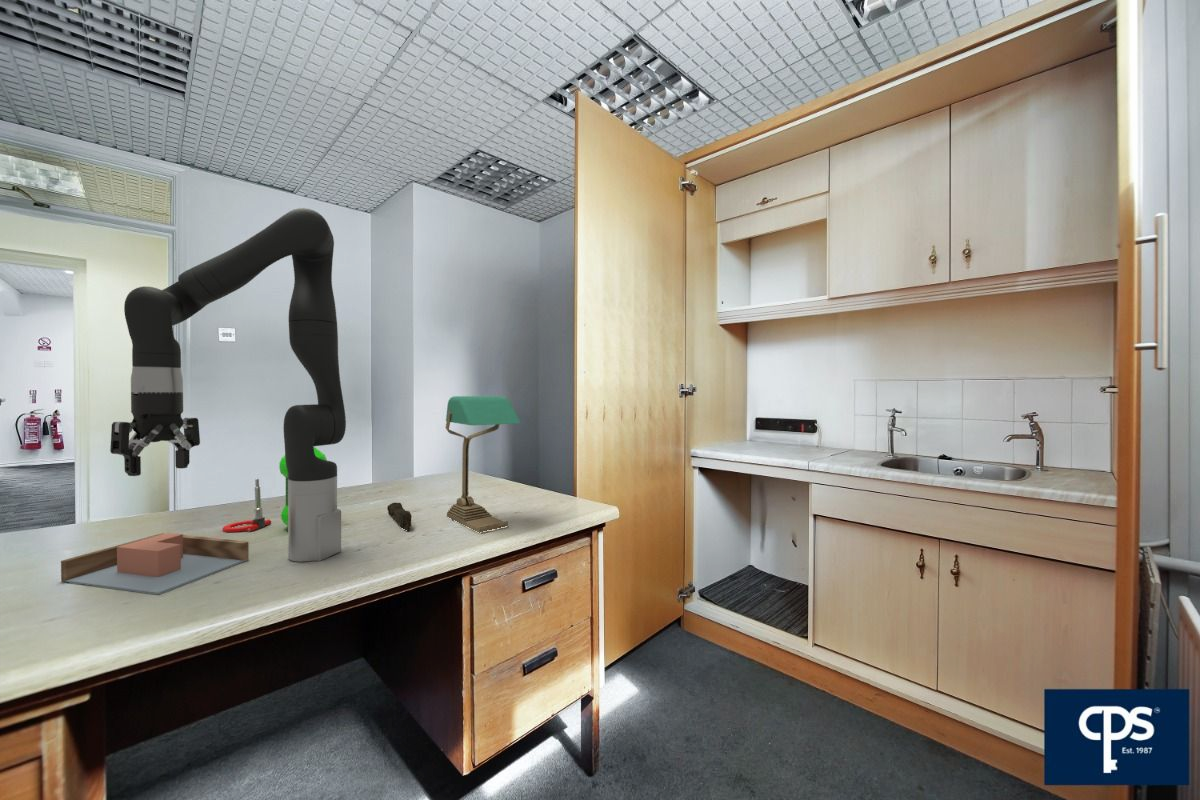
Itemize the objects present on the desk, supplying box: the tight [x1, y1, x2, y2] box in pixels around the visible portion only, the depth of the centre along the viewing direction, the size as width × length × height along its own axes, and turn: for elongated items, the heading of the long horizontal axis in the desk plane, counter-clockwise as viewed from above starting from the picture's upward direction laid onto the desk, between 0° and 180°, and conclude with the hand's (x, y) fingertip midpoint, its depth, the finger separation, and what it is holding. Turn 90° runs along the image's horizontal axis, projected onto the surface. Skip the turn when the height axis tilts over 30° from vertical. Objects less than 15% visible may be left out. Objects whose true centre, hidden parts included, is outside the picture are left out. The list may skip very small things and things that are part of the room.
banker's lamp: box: [445, 395, 522, 534], centre depth 128 cm, size 16×21×35 cm
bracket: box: [117, 532, 184, 577], centre depth 94 cm, size 9×10×5 cm
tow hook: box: [222, 478, 272, 533], centre depth 121 cm, size 8×13×9 cm
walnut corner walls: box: [60, 532, 250, 583], centre depth 93 cm, size 23×17×4 cm
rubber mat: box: [60, 554, 249, 596], centre depth 93 cm, size 23×17×1 cm
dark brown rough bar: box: [386, 502, 412, 532], centre depth 127 cm, size 19×4×5 cm, turn 32°
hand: (158, 471), depth 92 cm, fingers open, 8 cm apart
